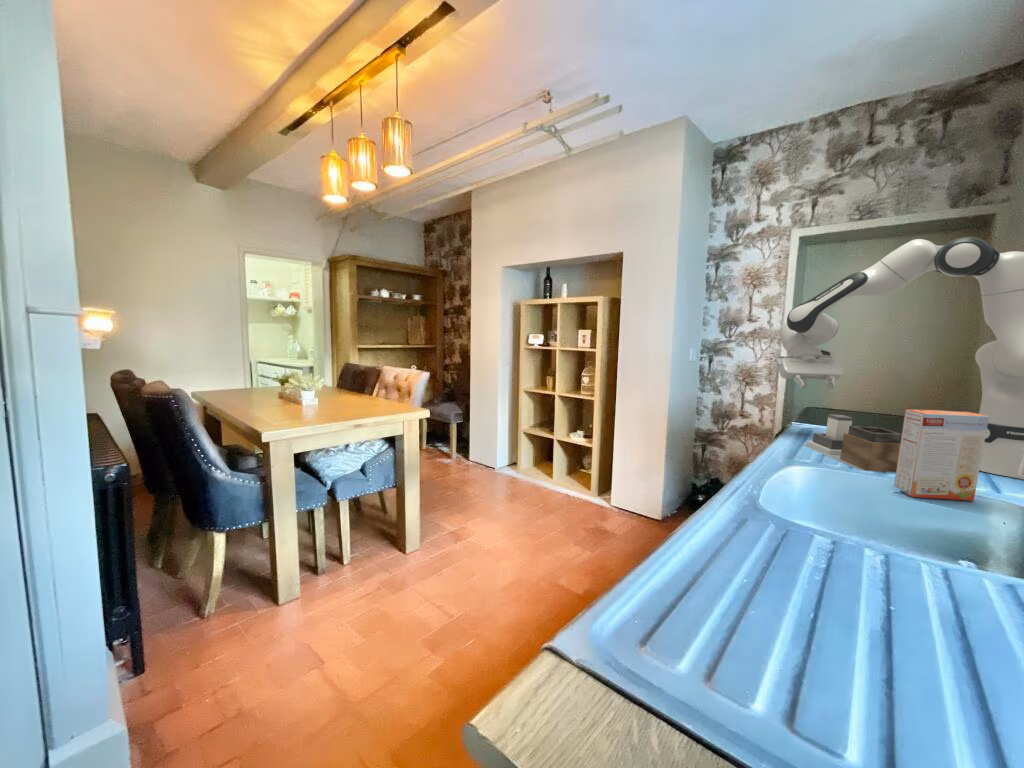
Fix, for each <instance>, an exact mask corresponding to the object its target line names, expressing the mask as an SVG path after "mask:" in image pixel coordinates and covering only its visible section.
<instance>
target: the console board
mask: <svg viewBox="0 0 1024 768" xmlns="http://www.w3.org/2000/svg"><path fill="white" fill-rule="evenodd" d="M802 446H804V447H806V448H808V449H810V450H812V451H814V452H817V453H819V454H822V455H824V456H826V457H828V458H831V459H832V460H835V461H837V462H840V463H842V464H843V465H846V466H848V467H850V468H853V469H855V470H857V471H867V472H868V471H869V470H864V469H862V468H859V467H857V466H855V465H853V464H850V463H848V462H846V461H843V460H841V459H840V456H841V455H828V454H826V453H824V452H821V451H819V450H817V449H815V448H812V447H810V446H808V445H807V444H802ZM869 472H870V471H869ZM883 472H888V471H883ZM888 473H889V472H888Z"/></svg>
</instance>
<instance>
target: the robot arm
mask: <svg viewBox="0 0 1024 768" xmlns="http://www.w3.org/2000/svg"><path fill="white" fill-rule="evenodd" d="M931 271H934V272H937V273H940V274H943V275H945V276H948V277H953V278H958V277H959V278H960V277H961V278H962V277H967V276H972V277H974V278H975V279H976V280H977V281H978V284H979V288H980V297H981V303H982V312H983V316H984V322H985V324H986V325H987V326H988V327H989V328H990V329H991V330H992V331H991V332H993V334H994V336H995V338H996V340H993V341H989V342H986V343H985V344H983V345H981V346H980V347H979V348H978V349H977V350H976V352H975V355H974V357H975V362H976V364H977V366H978V368H979V372H980V381H981V393H982V394H981V401H980V405H979V412H978V414H980V415H985V416H989V419H988V425H987V430H986V436H985V441H984V447H983V452H982V458H981V464H980V469H979V472H983V473H984V472H985V473H989V474H992V475H993V474H994V475H998V476H1005V477H1010V478H1013V479H1015V478H1016V479H1018V480H1024V251H1017V250H1016V251H1013V250H1012V251H1006V252H999V251H998V250H997V249H995V247H993V246H992V245H990V244H989V243H988V242H987V241H986V240H984V239H982V238H980V237H975V236H963V237H962V236H961V237H957V238H955V239H953V240H951V241H948V242H946V243H945V244H943V245H937V244H934V242H932V241H930V240H926V239H923V238H917V239H912V240H909V241H908V242H906V243H904V244H902V245H901V246H899V247H897V248H896V249H894V250H893V251H891V252H890V253H889V254H887V255H886V256H884V257H882V258H881V259H880V260H879V261H877V262H876V263H875V264H873V265H871V266H870V267H868V268H866V269H864V270H862V271H859V272H854V273H851V274H849V275H847V276H845V277H844V278H842V279H840V280H839V281H837V282H835V283H834V284H832V285H831V286H829V287H828V288H826V289H825V290H823V291H821V292H820V293H818V294H817V295H815V296H814V297H812V298H810V299H808V300H807V301H804V302H802V303H799V304H798V305H795V306H794V307H793V308H792V309H791V310H790V311H789V312H788V314H787V316H786V322H784V323H783V324H782V325H781V326H780V328H779V332H778V333H779V338H780V341H781V344H782V347H783V349H784V350H785V351H786V355H787V356H783V355H781V356H778V357H776V359H775V362H776V364H777V365H778V366H777V367H778V371H779V375H780V377H781V378H783V379H785V380H788V379H789V380H793V382H795V383H796V384H798V385H799V388H800V389H806V387H808V384H807V381H804V380H816V381H827V382H828V383H827V384H826V387H827V389H829V390H834V389H835V388H836V385H835V381H839V380H840V379H841V378H842V377H843V376H844V373H845V372H844V369H843V368H842V366H841V364H840V363H839V361H838V360H837V359H835V358H834V357H835V356H834V353H833V352H832V351H828V350H824V349H821V348H819V347H817V346H819V345H822V344H824V343H826V342H828V341H830V340H831V339H833V338H834V337H835V336H836V335H837V333H838V332H839V326H840V325H839V322H838V321H837V320H836V319H835V318H833V317H831V316H830V315H829V314H827V313H825V312H826V311H827V310H829V309H831V308H832V307H834V306H836V305H837V304H839V303H841V302H842V301H844V300H845V299H849V298H851V297H856V296H867V297H873V298H875V297H876V298H881V297H888V296H891V295H892V294H894V293H897V292H898V291H901V290H902V289H903V288H905V287H907V285H909V284H911V282H914V280H915V279H916V280H917V278H919V277H920V276H922V275H924V274H925V273H927V272H931Z"/></svg>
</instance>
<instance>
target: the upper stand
mask: <svg viewBox="0 0 1024 768" xmlns="http://www.w3.org/2000/svg"><path fill="white" fill-rule="evenodd" d="M901 437H902V433H900V432H896V431H892V430H889V429H886V428H882V427H878V426H874V427H873V426H858V425H857V426H855V425H854V426H853V425H852V426H849V432H848V434H846V433H844V437H843V443H842V450H841V456H840V459H841V460H843V461H846V462H848V463H850V464H853V465H855V466H857V467H859V468H862V469H864V470H863V471H865V470H869V472H870V471H871V472H884V471H888V473H896V470H897V463H898V456H899V450H900V443H901Z"/></svg>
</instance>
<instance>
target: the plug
mask: <svg viewBox="0 0 1024 768" xmlns="http://www.w3.org/2000/svg"><path fill="white" fill-rule="evenodd" d="M826 422H827V424H826V430H825V434H826V435H825V436H826V437H829V438H831V439H837V440H843V437H844V433H846V434H848V432H849V426H853V417H851V416H848V415H844V414H830V413H829V414H828V417H827V421H826Z"/></svg>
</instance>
